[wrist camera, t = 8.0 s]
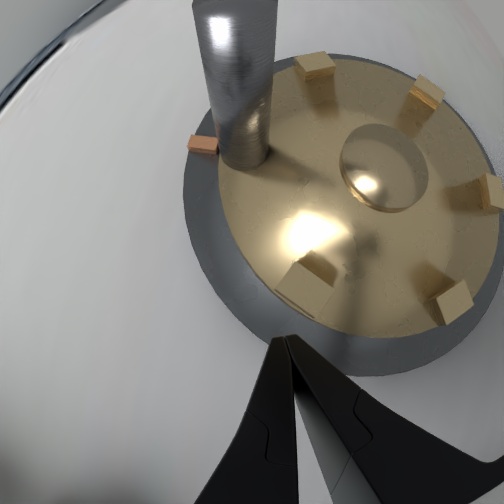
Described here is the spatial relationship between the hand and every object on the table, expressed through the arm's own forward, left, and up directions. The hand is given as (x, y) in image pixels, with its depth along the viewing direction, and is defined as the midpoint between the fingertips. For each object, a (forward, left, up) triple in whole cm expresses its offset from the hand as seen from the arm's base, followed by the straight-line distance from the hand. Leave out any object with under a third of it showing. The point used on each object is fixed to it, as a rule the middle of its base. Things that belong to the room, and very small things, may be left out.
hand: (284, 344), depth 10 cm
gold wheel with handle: (+5, -11, -8) cm, 15 cm away
